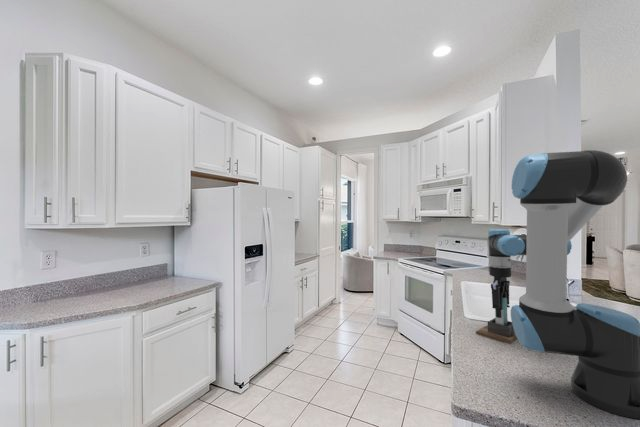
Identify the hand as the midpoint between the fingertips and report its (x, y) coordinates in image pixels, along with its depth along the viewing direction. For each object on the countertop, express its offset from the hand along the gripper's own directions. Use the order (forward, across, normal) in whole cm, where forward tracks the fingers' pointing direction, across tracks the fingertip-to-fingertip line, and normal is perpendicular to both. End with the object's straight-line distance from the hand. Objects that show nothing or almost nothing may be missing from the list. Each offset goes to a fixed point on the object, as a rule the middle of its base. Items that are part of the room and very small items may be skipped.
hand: (501, 324), depth 112 cm
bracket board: (+5, 0, +1) cm, 5 cm away
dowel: (+3, 0, 0) cm, 3 cm away
